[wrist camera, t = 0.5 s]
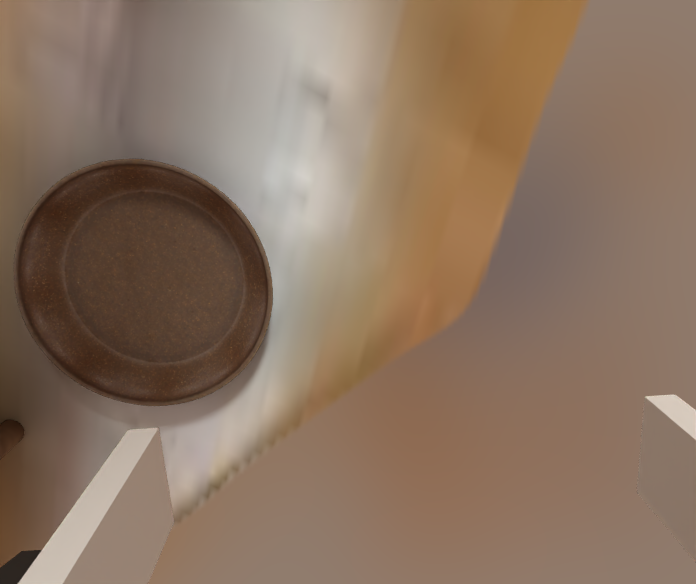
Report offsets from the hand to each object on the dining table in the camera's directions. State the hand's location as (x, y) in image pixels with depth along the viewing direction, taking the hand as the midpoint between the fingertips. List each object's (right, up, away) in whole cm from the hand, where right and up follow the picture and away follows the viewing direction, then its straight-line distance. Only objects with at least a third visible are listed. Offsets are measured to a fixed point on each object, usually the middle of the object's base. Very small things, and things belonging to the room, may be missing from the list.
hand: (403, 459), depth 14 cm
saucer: (-13, +5, +21) cm, 26 cm away
